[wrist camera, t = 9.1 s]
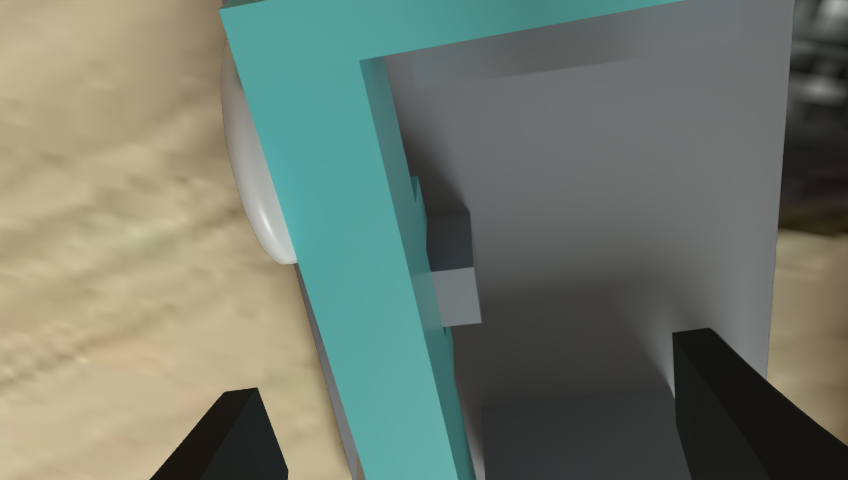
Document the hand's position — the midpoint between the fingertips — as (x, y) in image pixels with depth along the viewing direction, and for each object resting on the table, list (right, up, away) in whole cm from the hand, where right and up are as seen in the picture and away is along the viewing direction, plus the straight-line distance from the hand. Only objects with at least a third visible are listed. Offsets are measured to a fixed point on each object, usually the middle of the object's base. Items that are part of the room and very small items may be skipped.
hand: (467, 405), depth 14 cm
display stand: (+2, +4, +8) cm, 10 cm away
